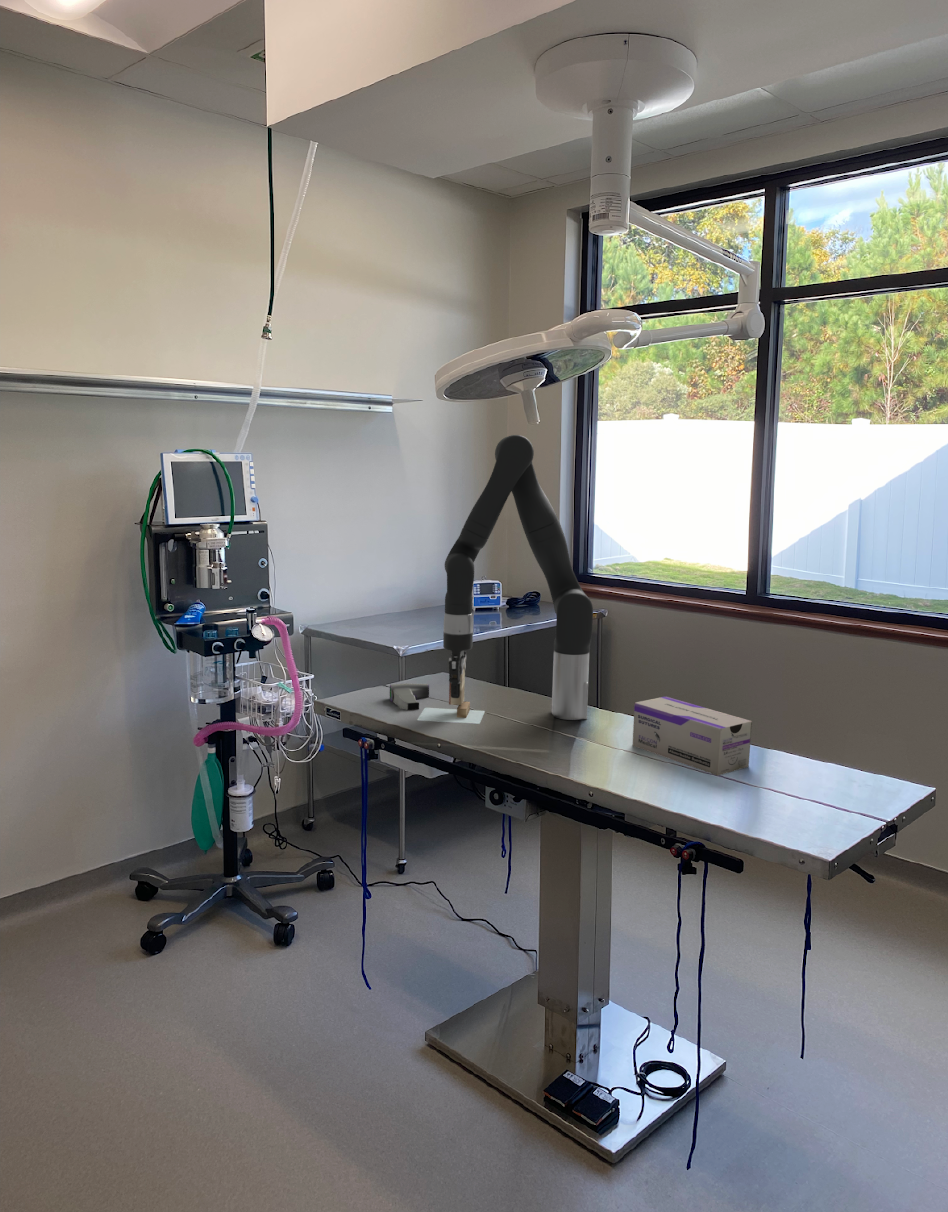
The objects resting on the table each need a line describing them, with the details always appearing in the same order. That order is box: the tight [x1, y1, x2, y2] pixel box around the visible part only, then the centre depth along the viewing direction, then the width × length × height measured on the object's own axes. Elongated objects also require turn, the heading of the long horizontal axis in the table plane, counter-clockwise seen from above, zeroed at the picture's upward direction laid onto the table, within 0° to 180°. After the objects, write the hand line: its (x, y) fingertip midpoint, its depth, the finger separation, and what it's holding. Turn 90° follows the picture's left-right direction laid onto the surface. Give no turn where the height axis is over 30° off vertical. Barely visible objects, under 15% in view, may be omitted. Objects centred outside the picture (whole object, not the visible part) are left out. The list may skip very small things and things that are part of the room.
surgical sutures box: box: [632, 696, 753, 777], centre depth 212 cm, size 25×11×11 cm, turn 37°
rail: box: [456, 700, 471, 718], centre depth 241 cm, size 2×7×2 cm, turn 173°
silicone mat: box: [416, 707, 486, 725], centre depth 239 cm, size 16×12×1 cm
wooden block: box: [448, 669, 466, 706], centre depth 240 cm, size 3×6×8 cm, turn 173°
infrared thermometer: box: [389, 682, 430, 711], centre depth 252 cm, size 5×12×15 cm
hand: (457, 694), depth 240 cm, fingers closed on wooden block, 5 cm apart
